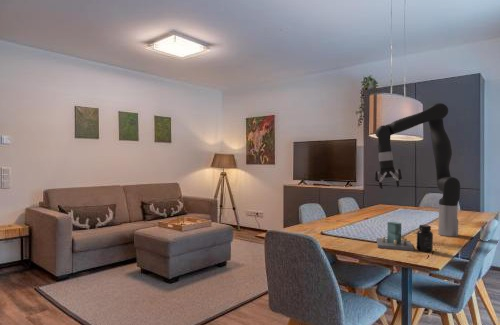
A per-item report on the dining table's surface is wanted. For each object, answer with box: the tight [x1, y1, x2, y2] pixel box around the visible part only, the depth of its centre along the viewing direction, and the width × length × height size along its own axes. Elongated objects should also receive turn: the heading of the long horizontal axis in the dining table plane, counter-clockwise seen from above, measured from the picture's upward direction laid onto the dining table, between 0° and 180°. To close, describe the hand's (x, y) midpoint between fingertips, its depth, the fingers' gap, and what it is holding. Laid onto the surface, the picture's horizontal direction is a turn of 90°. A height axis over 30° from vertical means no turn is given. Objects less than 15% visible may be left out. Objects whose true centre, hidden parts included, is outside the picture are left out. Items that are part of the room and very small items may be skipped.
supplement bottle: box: [416, 224, 434, 253], centre depth 163 cm, size 7×7×12 cm
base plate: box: [376, 236, 415, 252], centre depth 172 cm, size 16×14×4 cm
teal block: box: [386, 221, 402, 244], centre depth 172 cm, size 4×4×10 cm
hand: (389, 188), depth 198 cm, fingers open, 8 cm apart
